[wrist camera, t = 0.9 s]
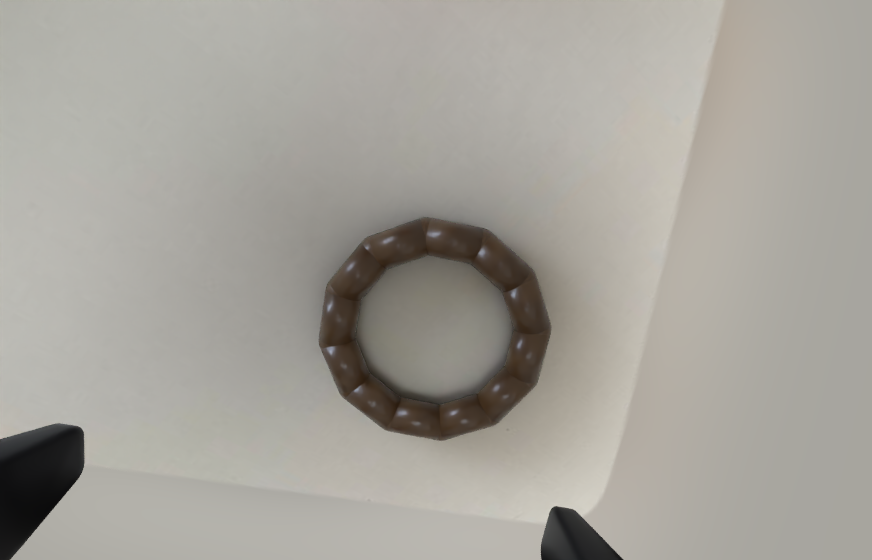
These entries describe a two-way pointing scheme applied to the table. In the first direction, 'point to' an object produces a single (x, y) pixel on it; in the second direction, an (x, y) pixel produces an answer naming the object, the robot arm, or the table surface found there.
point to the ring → (452, 245)
